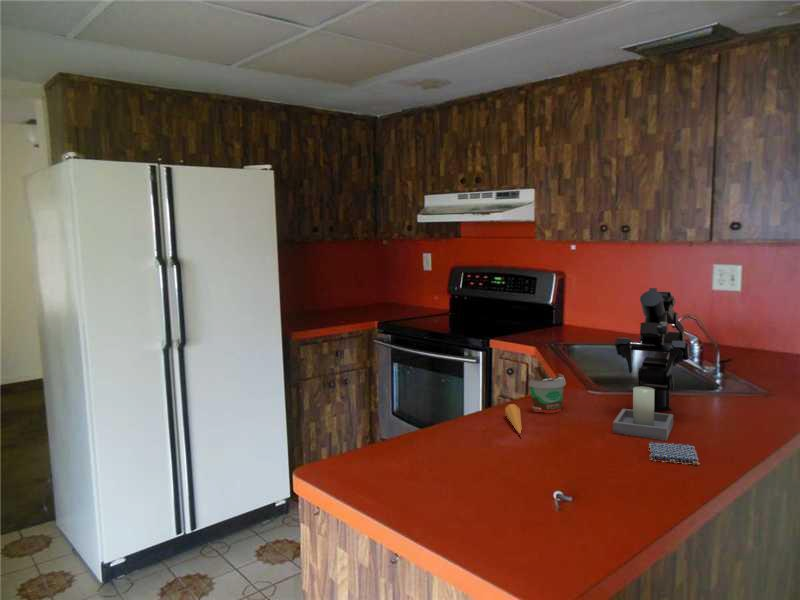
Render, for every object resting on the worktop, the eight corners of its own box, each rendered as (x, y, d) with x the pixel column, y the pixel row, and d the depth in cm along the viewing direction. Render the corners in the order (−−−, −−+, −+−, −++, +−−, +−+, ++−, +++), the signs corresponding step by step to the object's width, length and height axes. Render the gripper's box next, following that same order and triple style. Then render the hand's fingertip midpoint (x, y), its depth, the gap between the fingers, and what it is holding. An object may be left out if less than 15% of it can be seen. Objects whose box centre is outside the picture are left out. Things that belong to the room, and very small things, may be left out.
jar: (628, 425, 157) (629, 388, 156) (640, 421, 160) (640, 385, 159) (646, 430, 153) (646, 392, 152) (658, 425, 156) (658, 389, 155)
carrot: (507, 418, 173) (501, 405, 172) (521, 412, 172) (515, 399, 172) (516, 450, 154) (510, 435, 153) (533, 443, 153) (526, 429, 152)
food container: (542, 417, 170) (542, 383, 169) (529, 412, 175) (528, 379, 174) (575, 410, 175) (574, 377, 174) (560, 405, 181) (560, 373, 180)
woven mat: (694, 451, 142) (694, 443, 142) (700, 468, 132) (700, 459, 132) (647, 447, 146) (647, 439, 145) (649, 464, 136) (649, 455, 135)
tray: (612, 433, 155) (612, 422, 154) (622, 418, 166) (622, 408, 165) (666, 440, 148) (666, 429, 148) (673, 425, 159) (673, 414, 159)
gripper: (616, 309, 168) (607, 355, 160) (688, 312, 158) (683, 360, 150) (621, 332, 176) (614, 376, 168) (691, 335, 166) (686, 383, 158)
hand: (647, 374), depth 161 cm, fingers open, 9 cm apart
